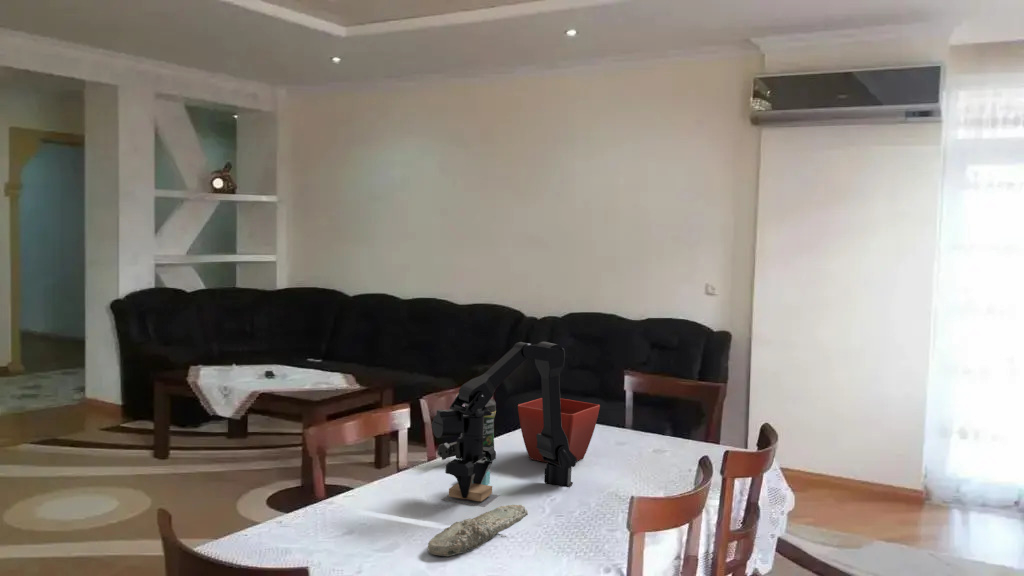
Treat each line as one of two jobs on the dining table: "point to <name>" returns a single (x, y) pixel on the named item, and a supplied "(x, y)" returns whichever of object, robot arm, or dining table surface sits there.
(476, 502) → the mat
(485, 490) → the lid
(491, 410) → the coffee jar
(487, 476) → the bowl
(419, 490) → the dining table surface
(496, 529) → the long grey stone
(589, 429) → the plant pot
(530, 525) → the dining table surface
